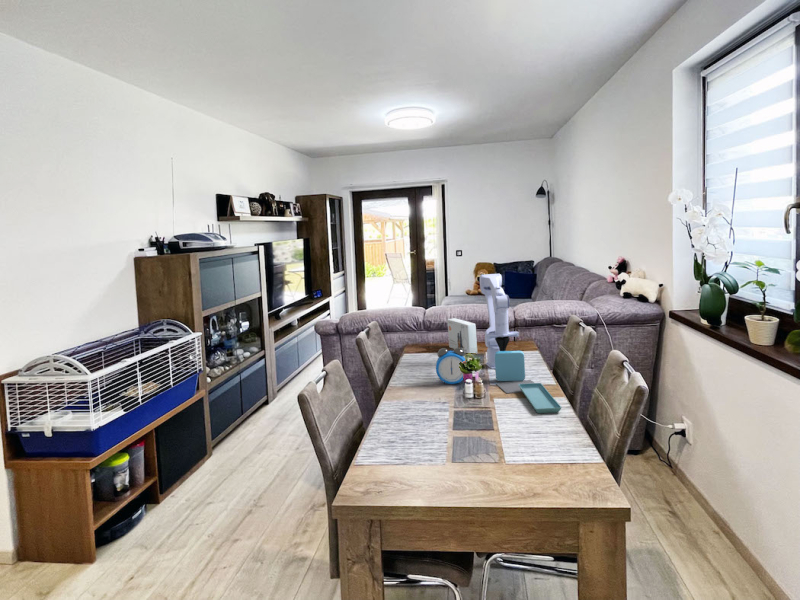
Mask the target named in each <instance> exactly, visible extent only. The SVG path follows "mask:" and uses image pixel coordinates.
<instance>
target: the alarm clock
mask: <svg viewBox="0 0 800 600" xmlns="http://www.w3.org/2000/svg"><path fill="white" fill-rule="evenodd" d="M465 354H466V353H464V351H463V349H461V348H455V349H453V348H451V349H449V350H448V348H445V347H442V348H439V350H438V351H437V357H438V358H437V359H436V363H435V372H436V376H437V377H438V378H439V379H440V381H442V382H443V385H445V384H449V385H457V384H460V383H461V382H462V381H463V380H464V379H463V374H462V372H461V371H460V368H459V363H460V362H463V361H465V360H466V358H465Z"/></svg>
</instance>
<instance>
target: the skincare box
mask: <svg viewBox="0 0 800 600" xmlns="http://www.w3.org/2000/svg"><path fill="white" fill-rule="evenodd" d="M446 323H447V333H448V334H447V335H448V346H449V348H451V349H452V350H454V349H455V348H461V349H463V351H464V353H465V354H466V353H476V354H478V344H477V343H478V341H477V327H476V326H477V325H476V323H474V322H471V321H468V320H464V319H459V318H457V317H452V318H447V321H446Z"/></svg>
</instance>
